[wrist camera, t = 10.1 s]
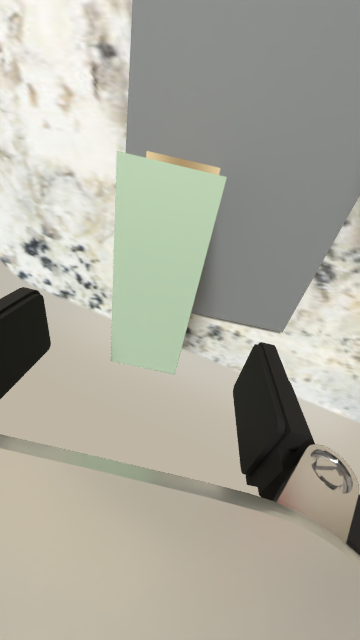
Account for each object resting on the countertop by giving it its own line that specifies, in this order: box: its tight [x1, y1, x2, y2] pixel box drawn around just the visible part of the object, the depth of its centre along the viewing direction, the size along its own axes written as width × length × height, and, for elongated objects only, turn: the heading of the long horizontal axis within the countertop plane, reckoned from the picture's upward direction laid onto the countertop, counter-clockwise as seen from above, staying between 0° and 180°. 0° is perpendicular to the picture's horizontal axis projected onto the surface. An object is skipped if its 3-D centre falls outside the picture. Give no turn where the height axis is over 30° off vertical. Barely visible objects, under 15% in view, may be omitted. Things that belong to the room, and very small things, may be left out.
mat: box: [126, 0, 360, 332], centre depth 22 cm, size 22×27×1 cm
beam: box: [111, 151, 227, 374], centre depth 16 cm, size 5×13×6 cm, turn 169°
